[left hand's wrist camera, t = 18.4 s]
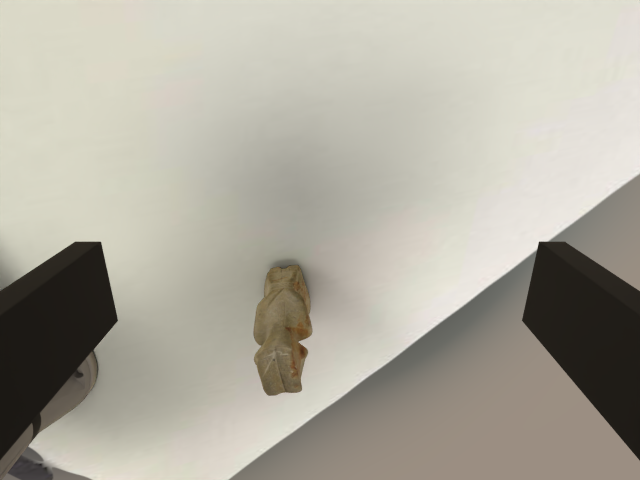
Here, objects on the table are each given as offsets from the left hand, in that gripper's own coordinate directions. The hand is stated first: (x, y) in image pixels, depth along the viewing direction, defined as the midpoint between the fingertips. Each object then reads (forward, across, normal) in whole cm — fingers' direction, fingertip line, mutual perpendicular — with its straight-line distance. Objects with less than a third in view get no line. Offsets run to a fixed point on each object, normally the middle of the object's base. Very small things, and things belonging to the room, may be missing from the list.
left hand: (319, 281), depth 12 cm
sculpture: (+32, +4, +17) cm, 36 cm away
